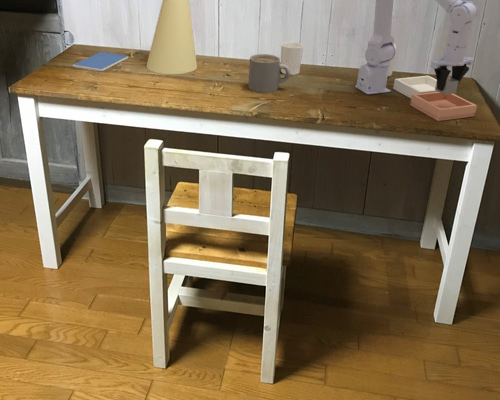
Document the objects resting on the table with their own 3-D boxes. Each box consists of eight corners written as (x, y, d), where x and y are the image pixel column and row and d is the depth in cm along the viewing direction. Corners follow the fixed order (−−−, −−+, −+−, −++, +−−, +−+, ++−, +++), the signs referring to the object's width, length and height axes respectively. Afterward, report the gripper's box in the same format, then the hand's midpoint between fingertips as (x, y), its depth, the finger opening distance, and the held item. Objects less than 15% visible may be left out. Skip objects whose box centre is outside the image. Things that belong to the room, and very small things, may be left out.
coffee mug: (244, 90, 187) (246, 60, 182) (253, 81, 195) (254, 52, 190) (284, 95, 184) (286, 65, 179) (290, 86, 192) (293, 57, 187)
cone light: (190, 76, 197) (189, -31, 179) (139, 71, 199) (133, -35, 181) (205, 56, 218) (205, -41, 200) (158, 52, 220) (155, -45, 202)
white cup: (277, 68, 209) (279, 41, 204) (298, 69, 210) (301, 42, 205) (280, 75, 202) (282, 47, 197) (302, 75, 203) (305, 48, 198)
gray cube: (444, 94, 173) (447, 82, 171) (434, 89, 177) (437, 77, 175) (455, 93, 175) (458, 80, 173) (446, 88, 178) (449, 76, 176)
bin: (438, 121, 170) (440, 110, 169) (410, 104, 182) (412, 94, 180) (474, 116, 175) (477, 105, 174) (444, 100, 186) (447, 90, 185)
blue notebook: (100, 54, 216) (100, 51, 216) (129, 58, 213) (129, 55, 213) (71, 68, 200) (71, 64, 200) (102, 73, 197) (102, 69, 197)
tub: (418, 102, 184) (420, 92, 182) (393, 88, 195) (394, 78, 193) (452, 98, 189) (454, 88, 187) (426, 85, 200) (428, 75, 198)
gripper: (445, 50, 162) (436, 95, 169) (485, 47, 167) (473, 91, 174) (430, 43, 168) (421, 87, 175) (468, 41, 173) (458, 83, 180)
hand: (446, 89), depth 175 cm, fingers closed on gray cube, 4 cm apart
